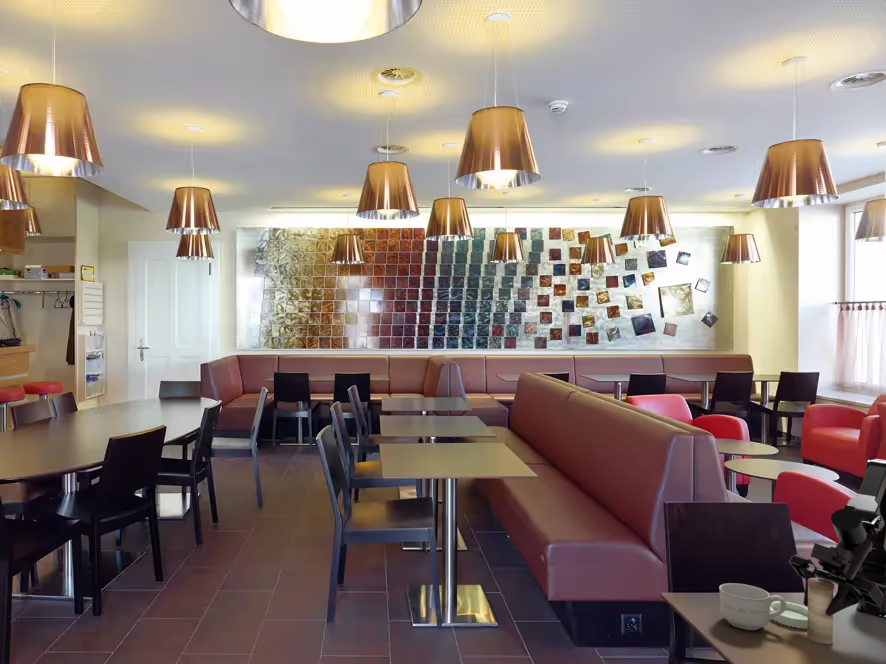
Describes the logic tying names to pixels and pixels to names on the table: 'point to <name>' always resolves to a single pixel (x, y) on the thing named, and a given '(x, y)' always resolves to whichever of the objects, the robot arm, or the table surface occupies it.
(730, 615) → the teacup
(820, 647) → the table surface
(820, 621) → the canister
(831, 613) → the robot arm
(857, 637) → the table surface
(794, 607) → the bowl
